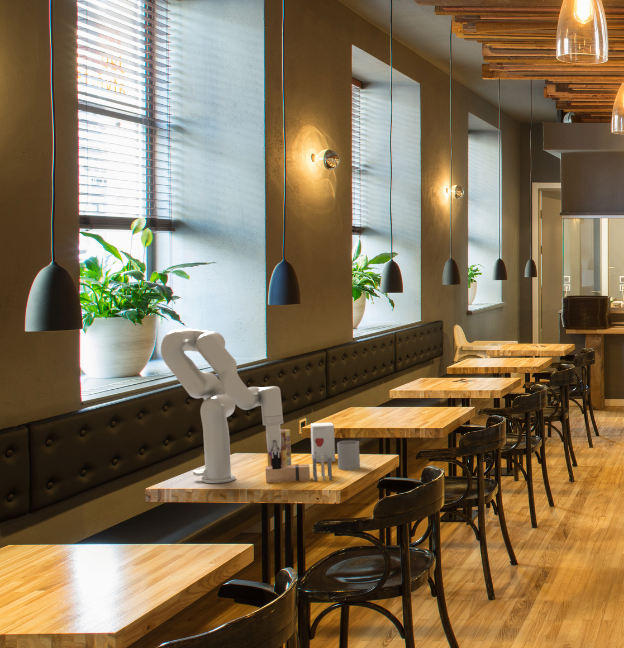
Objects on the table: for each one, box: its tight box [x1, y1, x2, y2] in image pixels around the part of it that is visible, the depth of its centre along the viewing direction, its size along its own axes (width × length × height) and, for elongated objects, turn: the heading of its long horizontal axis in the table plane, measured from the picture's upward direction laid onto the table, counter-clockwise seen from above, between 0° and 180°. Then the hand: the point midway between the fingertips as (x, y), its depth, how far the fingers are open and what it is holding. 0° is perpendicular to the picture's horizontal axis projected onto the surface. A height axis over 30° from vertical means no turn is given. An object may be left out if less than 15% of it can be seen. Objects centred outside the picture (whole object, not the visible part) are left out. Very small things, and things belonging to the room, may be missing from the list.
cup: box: [336, 440, 361, 471], centre depth 313 cm, size 8×8×10 cm
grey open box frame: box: [311, 453, 333, 482], centre depth 297 cm, size 6×8×8 cm
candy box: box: [266, 429, 292, 466], centre depth 318 cm, size 9×4×15 cm, turn 63°
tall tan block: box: [265, 463, 311, 483], centre depth 297 cm, size 16×5×5 cm, turn 92°
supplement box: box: [310, 422, 336, 463], centre depth 331 cm, size 9×9×15 cm
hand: (276, 466), depth 296 cm, fingers open, 9 cm apart
